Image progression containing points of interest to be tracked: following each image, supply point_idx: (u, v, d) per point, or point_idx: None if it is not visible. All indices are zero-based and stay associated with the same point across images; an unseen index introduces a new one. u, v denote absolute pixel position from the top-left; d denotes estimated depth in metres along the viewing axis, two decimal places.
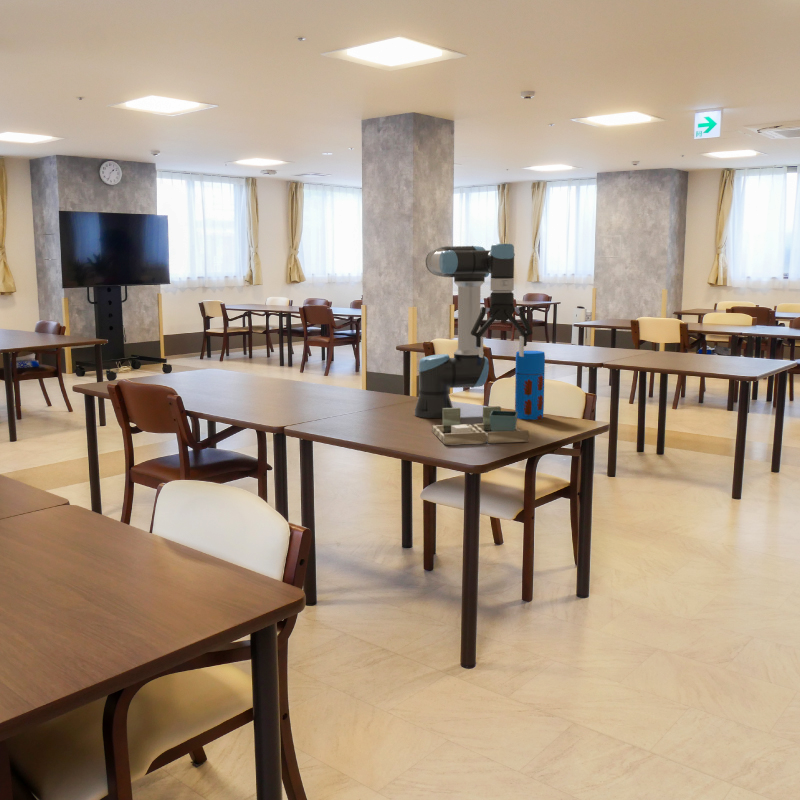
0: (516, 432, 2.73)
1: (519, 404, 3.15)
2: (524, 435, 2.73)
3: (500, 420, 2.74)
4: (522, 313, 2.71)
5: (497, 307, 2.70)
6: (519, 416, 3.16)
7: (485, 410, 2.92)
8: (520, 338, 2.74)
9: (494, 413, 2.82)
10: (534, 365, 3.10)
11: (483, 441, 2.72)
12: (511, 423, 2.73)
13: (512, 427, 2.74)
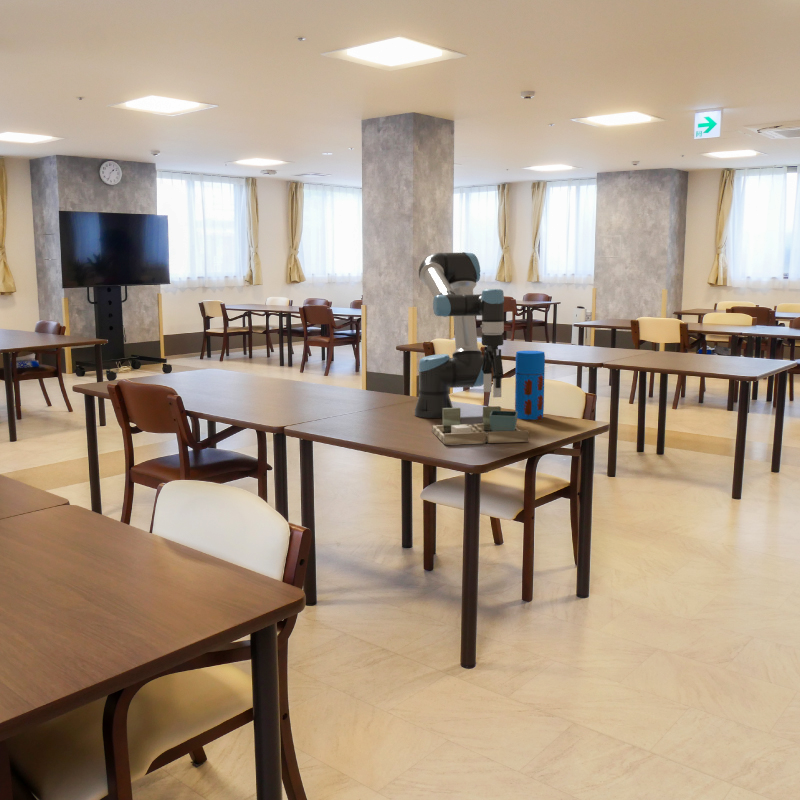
0: (516, 432, 2.73)
1: (519, 404, 3.15)
2: (524, 435, 2.73)
3: (500, 420, 2.74)
4: (494, 356, 2.83)
5: (488, 347, 2.91)
6: (519, 416, 3.16)
7: (485, 410, 2.92)
8: None
9: (494, 413, 2.82)
10: (534, 365, 3.10)
11: (483, 441, 2.72)
12: (511, 423, 2.73)
13: (512, 427, 2.74)
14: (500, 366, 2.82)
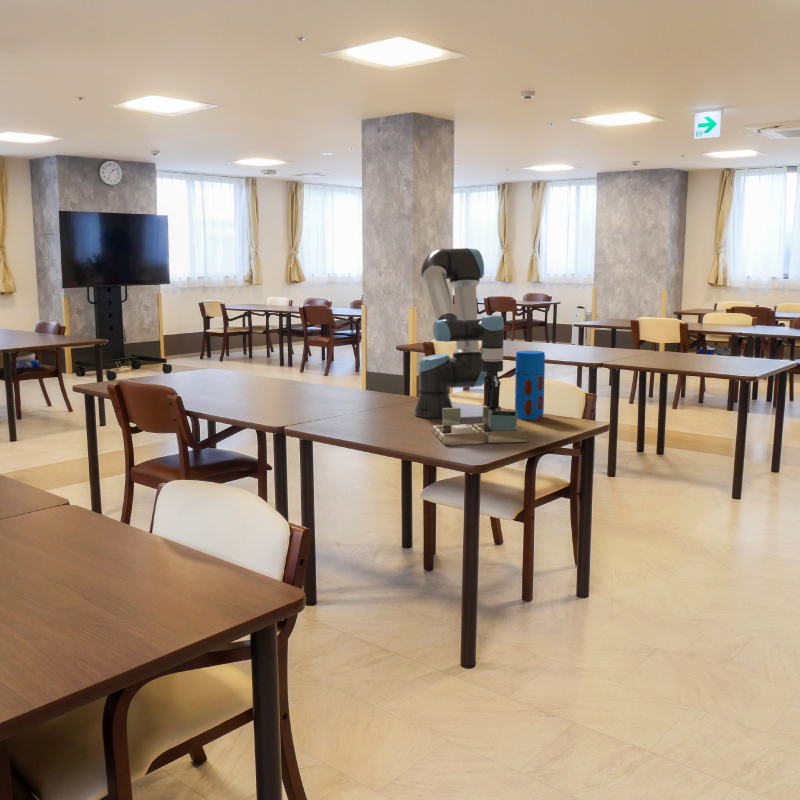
0: (516, 432, 2.73)
1: (519, 404, 3.15)
2: (524, 435, 2.73)
3: (500, 420, 2.74)
4: (492, 387, 2.86)
5: (487, 371, 2.93)
6: (519, 416, 3.16)
7: (485, 410, 2.92)
8: None
9: (494, 413, 2.82)
10: (534, 365, 3.10)
11: (483, 441, 2.72)
12: (511, 423, 2.73)
13: (512, 427, 2.74)
14: (497, 398, 2.88)
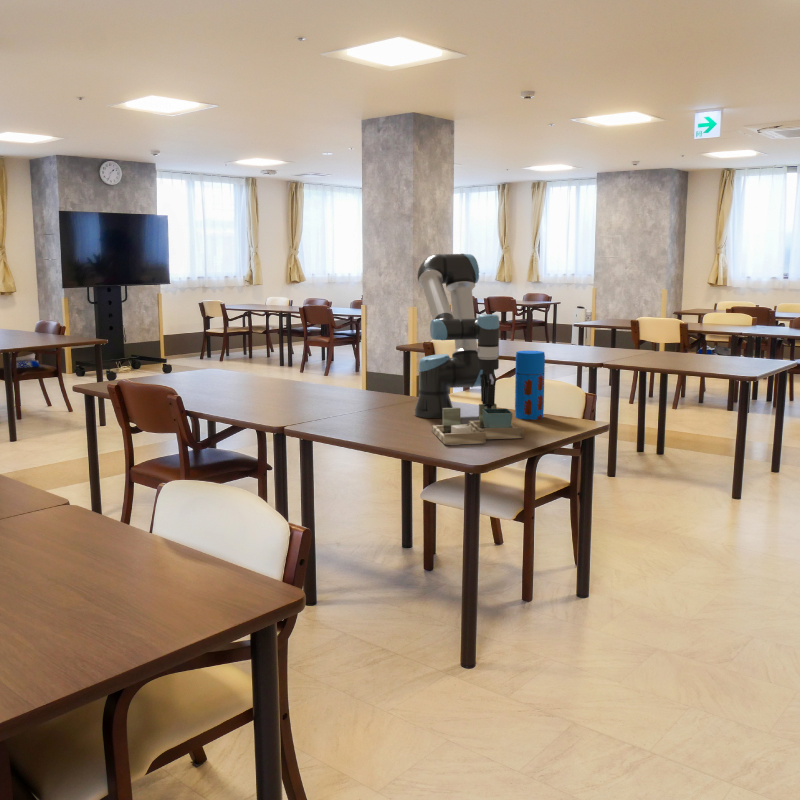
0: (511, 429, 2.78)
1: (519, 404, 3.15)
2: (519, 432, 2.79)
3: (497, 418, 2.78)
4: (488, 384, 2.92)
5: (483, 369, 2.99)
6: (519, 416, 3.16)
7: (481, 407, 2.98)
8: None
9: (485, 411, 2.85)
10: (534, 365, 3.10)
11: (483, 441, 2.72)
12: (508, 420, 2.78)
13: (509, 424, 2.79)
14: (492, 395, 2.93)
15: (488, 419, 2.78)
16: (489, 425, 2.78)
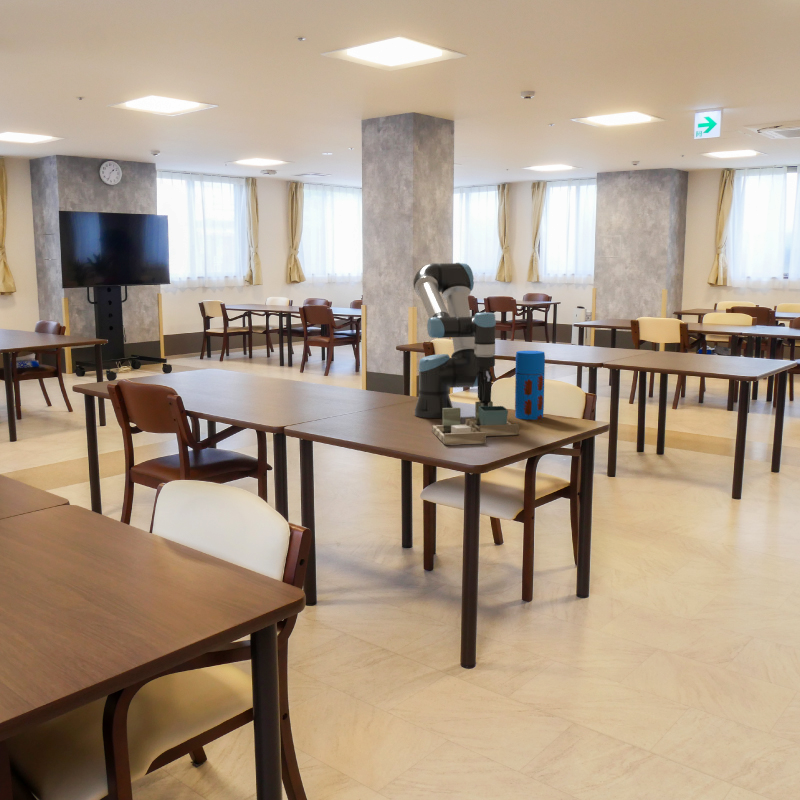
0: (507, 425, 2.84)
1: (519, 404, 3.15)
2: (514, 428, 2.84)
3: (493, 415, 2.83)
4: (484, 381, 2.97)
5: (479, 366, 3.04)
6: (519, 416, 3.16)
7: (477, 405, 3.03)
8: None
9: (481, 409, 2.91)
10: (534, 365, 3.10)
11: (483, 441, 2.72)
12: (504, 417, 2.84)
13: (504, 421, 2.84)
14: (489, 392, 2.98)
15: (484, 416, 2.83)
16: (485, 422, 2.84)
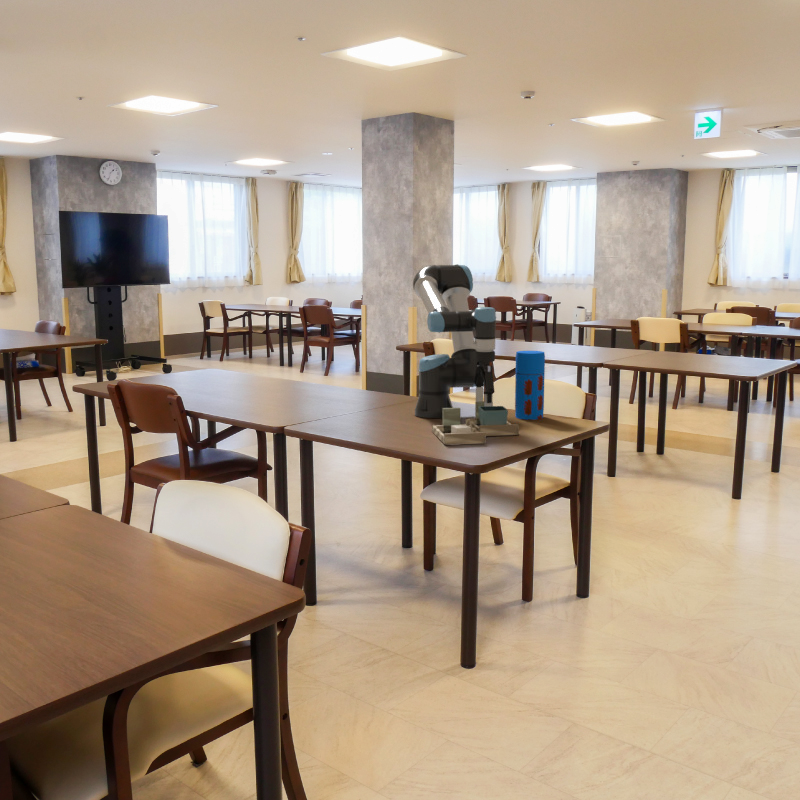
0: (507, 425, 2.84)
1: (519, 404, 3.15)
2: (514, 428, 2.84)
3: (493, 415, 2.83)
4: (485, 372, 2.95)
5: (480, 363, 3.03)
6: (519, 416, 3.16)
7: (477, 405, 3.03)
8: None
9: (481, 409, 2.91)
10: (534, 365, 3.10)
11: (483, 441, 2.72)
12: (503, 417, 2.84)
13: (504, 421, 2.84)
14: (491, 382, 2.94)
15: (484, 416, 2.83)
16: (485, 422, 2.84)
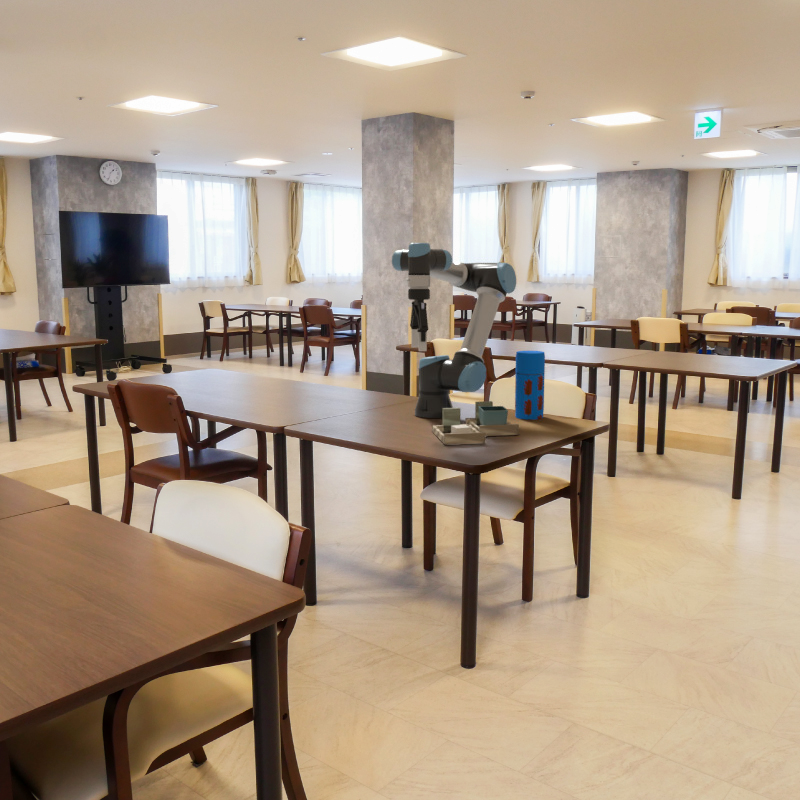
0: (507, 425, 2.84)
1: (519, 404, 3.15)
2: (514, 428, 2.84)
3: (493, 415, 2.83)
4: (419, 309, 2.82)
5: (414, 302, 2.90)
6: (519, 416, 3.16)
7: (477, 405, 3.03)
8: None
9: (481, 409, 2.91)
10: (534, 365, 3.10)
11: (483, 441, 2.72)
12: (503, 417, 2.84)
13: (504, 421, 2.84)
14: (425, 319, 2.81)
15: (484, 416, 2.83)
16: (485, 422, 2.84)
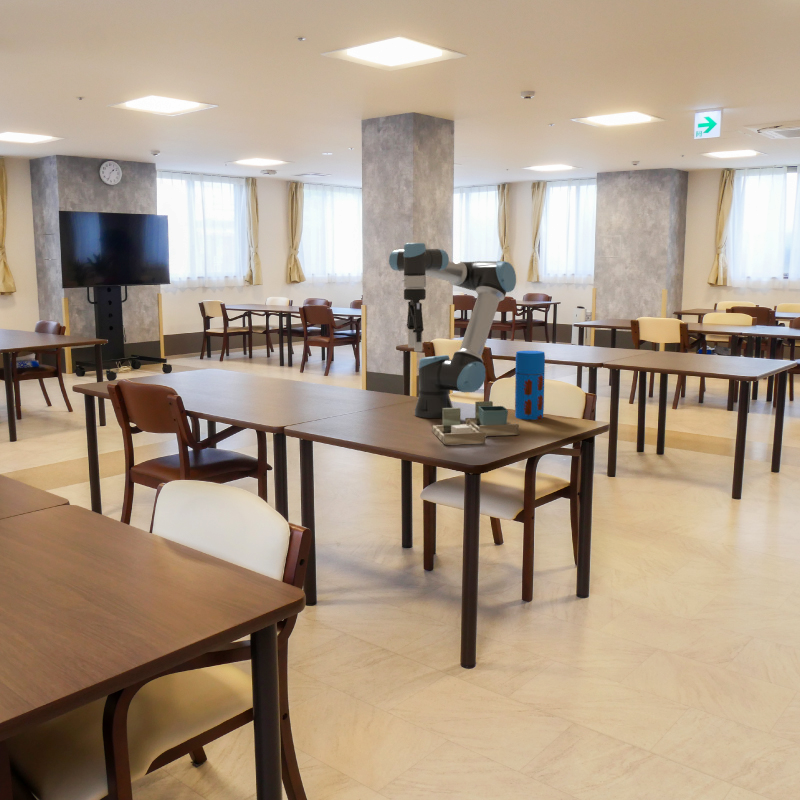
0: (507, 425, 2.84)
1: (519, 404, 3.15)
2: (514, 428, 2.84)
3: (493, 415, 2.83)
4: (414, 309, 2.82)
5: (410, 302, 2.90)
6: (519, 416, 3.16)
7: (477, 405, 3.03)
8: None
9: (481, 409, 2.91)
10: (534, 365, 3.10)
11: (483, 441, 2.72)
12: (503, 417, 2.84)
13: (504, 421, 2.84)
14: (420, 320, 2.81)
15: (484, 416, 2.83)
16: (485, 422, 2.84)
